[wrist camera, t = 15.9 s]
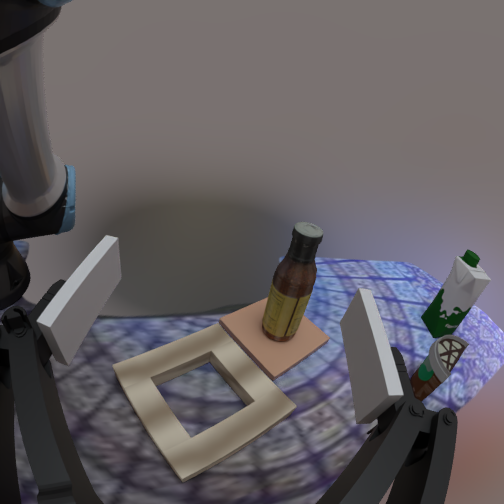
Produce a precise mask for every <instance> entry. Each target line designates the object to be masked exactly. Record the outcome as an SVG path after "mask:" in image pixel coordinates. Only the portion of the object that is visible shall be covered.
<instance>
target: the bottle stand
mask: <svg viewBox="0 0 504 504" xmlns="http://www.w3.org/2000/svg"><path fill="white" fill-rule="evenodd" d="M208 362H210V363H211V364H212V365H213V366H214V368H215V369H216V370H217V371H218V373H219V374H220V375H221V376H222V377H223V379H224V380H225V381H226V382H227V383H228V384H229V386H230V387H231V388H232V389H233V390H234V391H235V393H236V394H237V395H238V396H239V397H240V398H241V399H242V401H243V402H244V403H245V404H246V405H247V407H245V408H244V409H242V410H240V411H239V412H237V413H235V414H234V415H232V416H230V417H229V418H227V419H225V420H223V421H222V422H220V423H218V424H216V425H215V426H213V427H211V428H209V429H207V430H205V431H204V432H202V433H200V434H198V435H196V436H194V437H192V438H191V437H190V436H189V435H188V433H187V432H186V431H185V429H184V428H183V426H182V425H181V424H180V422H179V421H178V419H177V418H176V417H175V415H174V414H173V412H172V411H171V409H170V408H169V406H168V405H167V403H166V402H165V400H164V399H163V397H162V396H161V394H160V393H159V391H158V389H157V388H156V386H157V385H160V384H162V383H164V382H167V381H169V380H171V379H174V378H176V377H178V376H180V375H182V374H185V373H187V372H189V371H191V370H193V369H195V368H198V367H200V366H202V365H204V364H206V363H208ZM112 366H113V369H114V372H115V375H116V377H117V379H118V381H119V383H120V385H121V387H122V389H123V391H124V393H125V394H126V396H127V398H128V400H129V402H130V404H131V405H132V407H133V409H134V411H135V412H136V414H137V416H138V418H139V419H140V421H141V423H142V424H143V426H144V428H145V429H146V431H147V432H148V434H149V436H150V437H151V439H152V440H153V442H154V443H155V445H156V446H157V448H158V449H159V451H160V452H161V454H162V455H163V457H164V458H165V459H166V461H167V462H168V464H169V465H170V466H171V468H172V469H173V471H174V472H175V473H176V475H177V476H178V477H179V478H180V480H181V481H182V482H185V481H187V480H189V479H191V478H193V477H195V476H196V475H198V474H200V473H202V472H204V471H206V470H207V469H209V468H211V467H213V466H215V465H216V464H218V463H220V462H221V461H223V460H225V459H226V458H228V457H230V456H231V455H233V454H235V453H236V452H238V451H239V450H241V449H242V448H244V447H246V446H247V445H249V444H250V443H252V442H253V441H255V440H256V439H258V438H259V437H260V436H262V435H263V434H265V433H266V432H268V431H269V430H270V429H272V428H273V427H275V426H276V425H277V424H279V423H280V422H282V421H283V420H284V419H286V418H287V417H288V416H289V415H291V413H292V412H293V411H294V409H295V408H296V407H297V406H296V405H295V404H294V403H293V402H292V401H291V400H290V399H289V398H288V397H287V396H286V395H285V394H284V393H283V392H282V391H281V390H280V389H279V388H278V387H277V386H276V385H275V384H274V383H273V382H272V381H271V380H270V379H269V378H268V377H267V376H266V375H265V374H264V373H263V372H262V371H261V370H260V369H259V368H258V366H257V365H256V364H255V363H254V362H253V361H252V360H251V359H250V358H249V357H248V356H247V355H246V354H245V353H244V351H243V350H242V349H241V348H240V347H239V346H238V345H237V344H236V343H235V342H234V341H233V339H232V338H231V337H230V336H229V335H228V334H227V333H226V332H225V331H224V329H223V328H222V327H221V326H220V325H219V324H218V323H217V324H215V325H212V326H210V327H208V328H205V329H203V330H201V331H198V332H196V333H193V334H191V335H189V336H186V337H184V338H181V339H179V340H176V341H174V342H171V343H169V344H166V345H164V346H161V347H159V348H156V349H154V350H151V351H149V352H146V353H143V354H141V355H138V356H135V357H133V358H130V359H127V360H125V361H122V362H119V363H117V364H114V365H112Z"/></svg>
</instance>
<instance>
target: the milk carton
mask: <svg viewBox="0 0 504 504" xmlns="http://www.w3.org/2000/svg"><path fill="white" fill-rule="evenodd" d="M479 260H480V258H479V257H478V256H477V255H476V254H475V253H474V252H472V251H470V250H467V251H466V253H465V255H464V256H463V257H460V256H459V257H458V256H456V258H455V261H454V264H453V267H452V270H451V272H450V274H449V276H448V278H447V279H446V281H445V283H444V284H443V286H442V288H441V289H440V291H439V292H438V294H437V296H436V297H435V299H434V300H433V302H432V303H431V304H430V306H429V307H428V309H427V310H426V311H425V312H424V314H423V315H422V316H421V318H422V319H423V321H424V323H425V324H426V326H427V328H428V329H429V331H430V333H431V334H432V336H433V338H437V337H443V336H445V335H452V333H453V332H454V331H455V330H456V328H457V327H458V326H459V324H460V323H461V322H462V320H463V319H464V318H465V316H466V315H467V313H468V312H469V311H470V309H471V308H472V306H473V305H474V303H475V302H476V300H477V299H478V297H479V296H480V294H481V293H482V292H483V290H484V289H485V288H486V286H487V285H488V284H489V282H490V281H491V279H490V278H489V277H488V276H487V275H486V273H485V271H484V270H482V269H481V267H480V266H479V265H478V262H479Z"/></svg>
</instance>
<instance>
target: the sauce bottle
mask: <svg viewBox="0 0 504 504" xmlns="http://www.w3.org/2000/svg"><path fill="white" fill-rule="evenodd" d="M292 235H293V238H292V241H291V245H290V248H289V250H288V253H287V254H286V256H285V257H284V259H283V260H282V261H281V263H280V264H279V265H278V267H277V269H276V271H275V273H274V276H273V280H272V285H271V288H270V292H269V296H268V300H267V304H266V308H265V311H264V315H263V319H262V322H263V323H262V329H263V331H264V333H265V334H266V335H267V336H268V337H269V338H270V339H273V340H276V341H288V340H290V339H291V338H292V337H294V335H295V333H296V331H297V330H298V328H299V325H300V322H301V320H302V317H303V315H304V312H305V309H306V307H307V304H308V301H309V299H310V296H311V293H312V291H313V285H314V283H315V280H316V272H317V268H316V264H315V260H314V259H315V254H316V252H317V248H318V245H319V244H320V242H321V241H322V237H323V231H322V230H321V229H320V228H319V227H318V226H316V225H314V224H311V223H307V222H299V223H297V224H295V226H294V229H293V232H292Z"/></svg>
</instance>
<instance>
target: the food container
mask: <svg viewBox="0 0 504 504" xmlns="http://www.w3.org/2000/svg"><path fill="white" fill-rule="evenodd" d="M468 345H469V344H468V343H467V342H466V341H464V340H463V339H461V338H459V337H457V336H454V335H445V336H443V337H441V338H439V339H438V340H437V341H435V342H434V343H433V344H432V345H431V347H430V350H429V355H428V356H427V358H426V359H425V360H424V362H423V363H422V364H421V365H420V367H419V368H418V369H417V371H416V372H415V373H414V374H413V376H412V377H411V380H410V383H411V386H412V390H413V393H414V397H415V398H416V399H418V400H420V401H423V400H424V399H425V398H426V397H427V396H428V395H429V394H431V393H432V392H433V391H434V390H435V389H436V388H437V387H438V386H439V385H440V384H441V383H443V382H444V381H445V380H446V379H447V378H448V377H449V376H450V375H451V373H450V372H451V370H452V369H453V367H454V366H455V364H456V363H457V361H458V360H459V358H460V356H461V355H462V353H463V351H464V350H465V349H466V347H467V346H468Z"/></svg>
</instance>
